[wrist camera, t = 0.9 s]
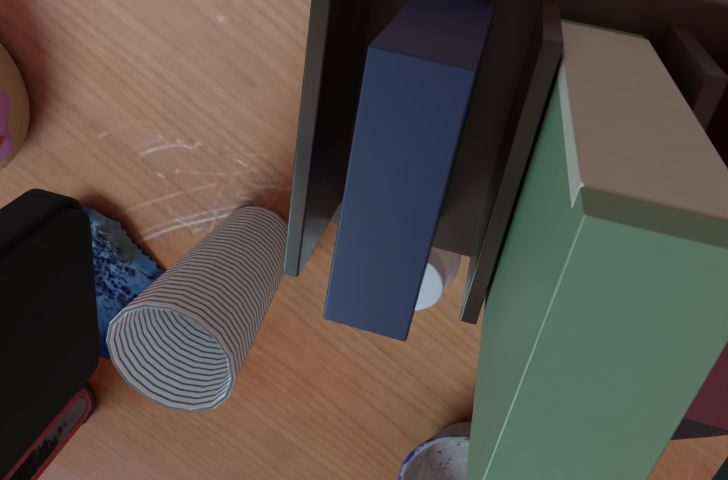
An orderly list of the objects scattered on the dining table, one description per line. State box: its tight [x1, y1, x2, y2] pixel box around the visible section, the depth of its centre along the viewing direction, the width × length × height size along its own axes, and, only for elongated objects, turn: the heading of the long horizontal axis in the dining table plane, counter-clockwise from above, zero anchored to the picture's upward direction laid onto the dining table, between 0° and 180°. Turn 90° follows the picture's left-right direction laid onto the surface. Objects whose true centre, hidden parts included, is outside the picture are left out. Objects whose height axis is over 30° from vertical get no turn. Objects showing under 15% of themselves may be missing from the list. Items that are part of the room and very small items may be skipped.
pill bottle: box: [415, 247, 461, 310], centre depth 44 cm, size 5×5×10 cm
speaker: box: [3, 383, 95, 480], centre depth 61 cm, size 8×8×18 cm
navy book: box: [323, 0, 496, 341], centre depth 22 cm, size 9×3×8 cm, turn 170°
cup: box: [106, 206, 288, 412], centre depth 47 cm, size 8×8×16 cm
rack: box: [283, 0, 728, 324], centre depth 30 cm, size 12×20×24 cm, turn 81°
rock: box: [81, 206, 163, 359], centre depth 59 cm, size 15×17×2 cm
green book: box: [465, 19, 728, 480], centre depth 19 cm, size 9×3×15 cm, turn 171°
